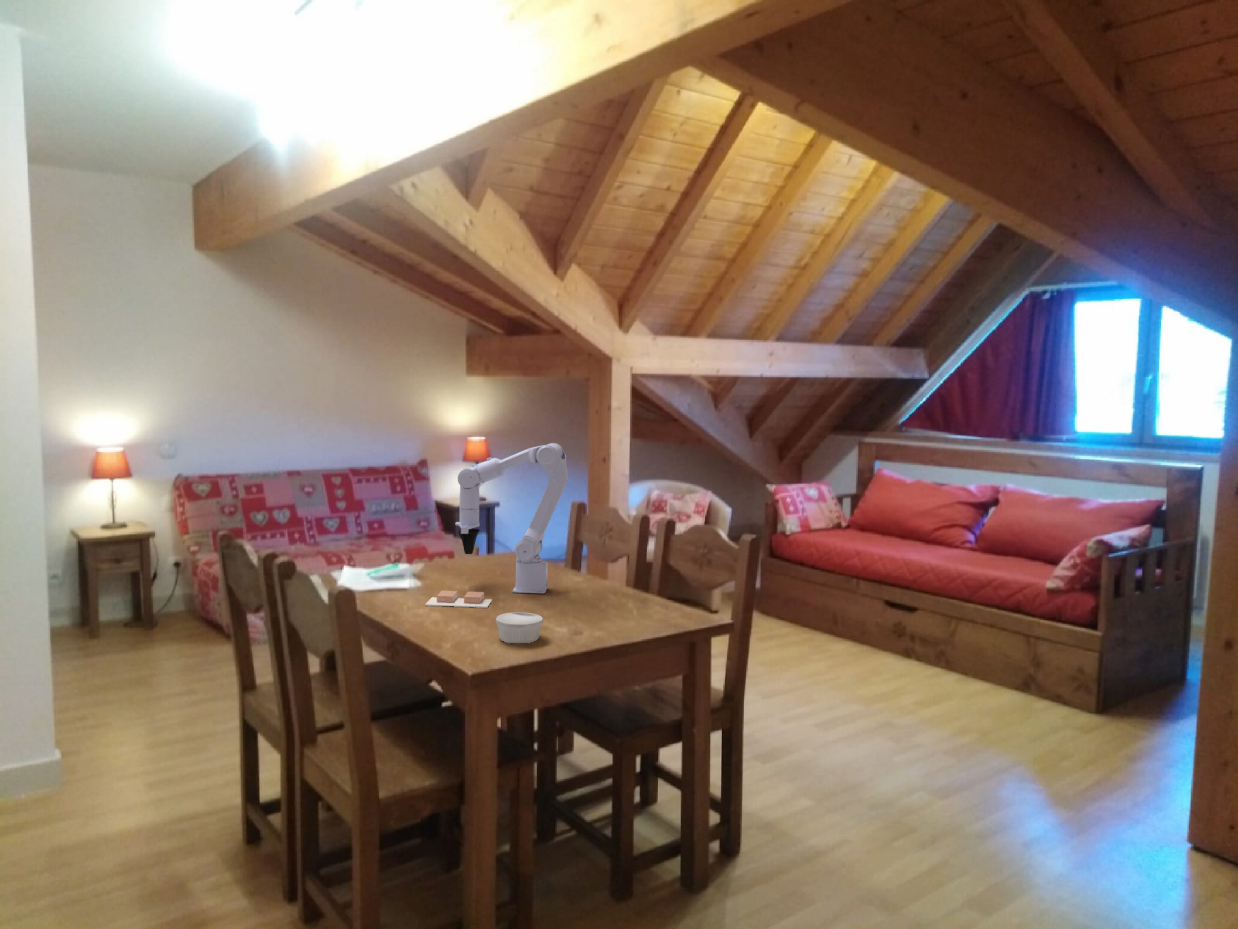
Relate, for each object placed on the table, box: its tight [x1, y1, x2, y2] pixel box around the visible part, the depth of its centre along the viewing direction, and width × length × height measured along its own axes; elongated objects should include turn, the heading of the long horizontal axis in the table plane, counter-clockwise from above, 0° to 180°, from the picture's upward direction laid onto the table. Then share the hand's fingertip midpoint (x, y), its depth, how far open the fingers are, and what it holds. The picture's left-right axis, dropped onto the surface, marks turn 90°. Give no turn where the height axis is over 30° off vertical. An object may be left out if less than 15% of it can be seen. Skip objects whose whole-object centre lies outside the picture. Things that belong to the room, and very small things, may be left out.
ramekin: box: [495, 611, 544, 644], centre depth 214 cm, size 11×11×5 cm
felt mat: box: [424, 596, 493, 609], centre depth 245 cm, size 17×8×1 cm, turn 89°
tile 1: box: [436, 590, 458, 602], centre depth 247 cm, size 4×2×6 cm
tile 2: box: [463, 591, 485, 603], centre depth 247 cm, size 4×2×6 cm
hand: (468, 553), depth 263 cm, fingers closed
